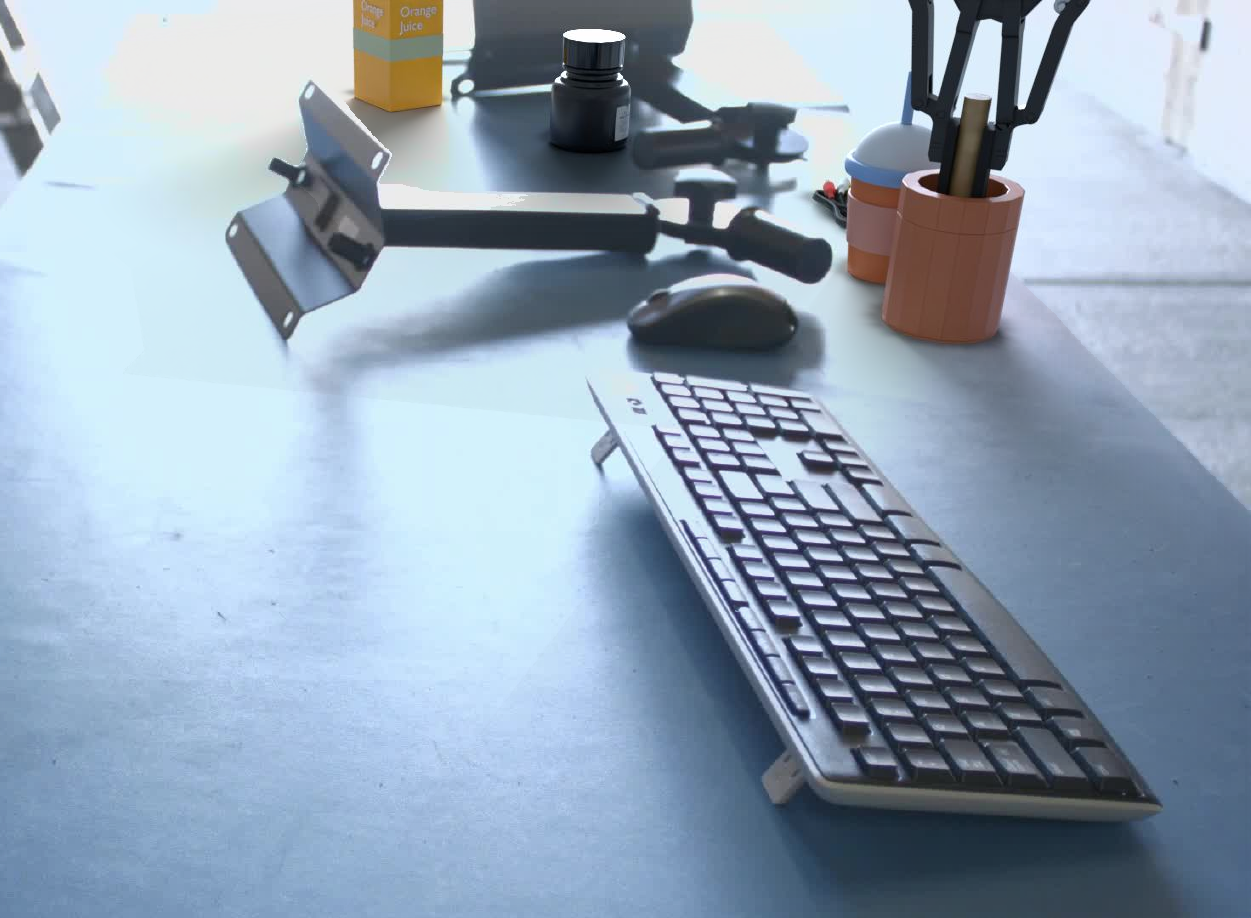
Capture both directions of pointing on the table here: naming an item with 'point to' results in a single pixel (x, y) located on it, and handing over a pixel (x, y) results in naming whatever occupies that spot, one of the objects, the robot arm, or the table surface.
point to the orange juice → (398, 53)
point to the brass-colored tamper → (969, 144)
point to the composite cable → (835, 199)
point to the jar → (950, 260)
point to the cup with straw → (881, 189)
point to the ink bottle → (590, 93)
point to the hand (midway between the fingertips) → (959, 205)
